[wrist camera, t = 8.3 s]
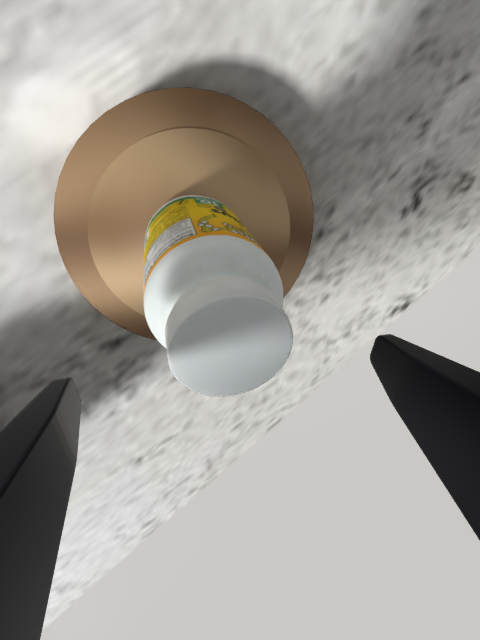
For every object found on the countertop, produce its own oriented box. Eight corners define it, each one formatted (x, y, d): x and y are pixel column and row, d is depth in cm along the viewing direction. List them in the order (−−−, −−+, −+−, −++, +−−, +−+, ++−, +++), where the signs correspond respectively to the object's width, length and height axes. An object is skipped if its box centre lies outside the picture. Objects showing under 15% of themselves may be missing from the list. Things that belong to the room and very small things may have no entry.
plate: (285, 312, 25) (298, 331, 23) (96, 333, 22) (91, 357, 20) (312, 95, 17) (335, 93, 15) (26, 83, 14) (5, 79, 12)
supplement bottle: (122, 238, 16) (98, 355, 9) (201, 168, 16) (252, 229, 8) (191, 303, 20) (218, 432, 12) (260, 248, 19) (340, 348, 11)
